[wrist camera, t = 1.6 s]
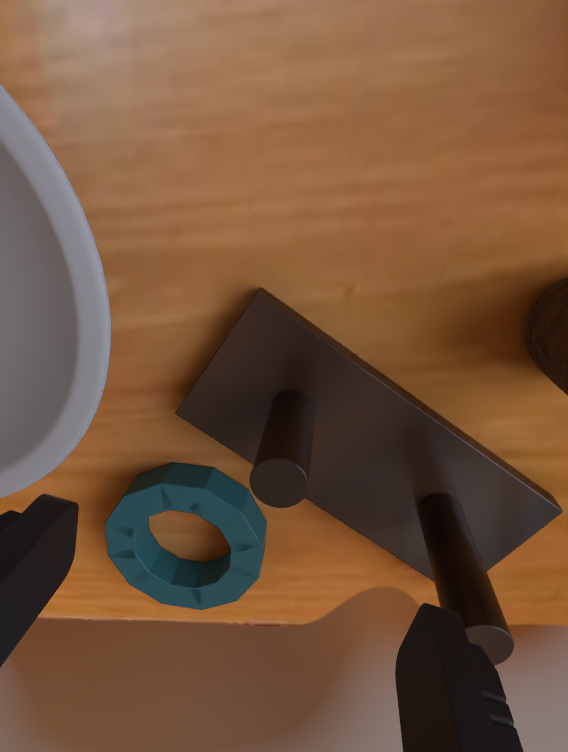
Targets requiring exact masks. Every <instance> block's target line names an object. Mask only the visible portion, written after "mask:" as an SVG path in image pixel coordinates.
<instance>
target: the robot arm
mask: <svg viewBox="0 0 568 752" xmlns="http://www.w3.org/2000/svg"><path fill="white" fill-rule="evenodd" d="M78 511H79V507H78V504H77V503H76V502H72V501H69V500H65V499H62V498H58V497H55V496H51V495H48V494H42V495H40V496H39V497H38V498H37V499H36V500H35V501H34V502H33V503H32V504H31V505H30V506H28V507H27V508H26V509H25V510H24V511H23V512H22V513H19V512H16V511H12V510H10V511H8V512H6V513H4V514H2V515H0V667H1V666H2V664H3V663H4V662H5V660H6V659H7V657H8V656H9V655H10V653H11V652H12V651H13V649H14V648H15V647H16V645H17V644H18V643H19V641H20V640H21V638H22V637H23V636H24V634H25V633H26V632H27V630H28V629H29V627H30V626H31V625H32V623H33V622H34V621H35V619H36V618H37V616H38V615H39V614H40V612H41V611H42V610H43V608H44V607H45V606H46V604H47V603H48V601H49V600H50V599H51V597H52V596H53V595H54V593H55V592H56V590H57V589H58V588H59V586H60V585H61V584H62V582H63V581H64V579H65V577H66V576H67V574H68V572H69V570H70V567H71V565H72V562H73V559H74V555H75V546H76V534H77V523H78ZM395 675H396V676H395V677H396V688H397V697H398V707H399V716H400V725H401V734H402V744H403V752H523V749H522V746H521V743H520V740H519V736H518V734H517V730H516V728H514V726H513V723H514V721H513V718H512V715H511V712H510V709H509V706H508V705H507V704H506V696H505V693H504V690H503V687H502V684H501V681H500V678H499V675H498V672H497V670H496V669H495V667H494V665H493V664H492V662H491V661H490V659H489V658H488V656H487V655H486V653H485V652H484V650H483V649H482V647H481V646H480V645H476V644H473V643H469V640H468V636H467V633H466V629H465V626H464V622H463V619H462V617H461V615H460V614H459V613H458V612H455V611H451V610H448V609H444V608H441V607H437V606H434V605H430V604H427V603H424V604H422V605H421V606H420V608H419V610H418V612H417V614H416V616H415V618H414V620H413V622H412V624H411V626H410V628H409V630H408V632H407V634H406V636H405V638H404V640H403V642H402V644H401V646H400V649H399V652H398V655H397V660H396V672H395Z"/></svg>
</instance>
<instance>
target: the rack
mask: <svg viewBox="0 0 568 752" xmlns="http://www.w3.org/2000/svg"><path fill="white" fill-rule="evenodd" d="M175 414H176V415H178V416H180V417H181V418H183V419H184V420H186V421H187V422H189V423H190V424H192V425H193V426H195V427H197V428H198V429H200V430H201V431H203V432H204V433H206V434H207V435H209V436H210V437H212V438H213V439H215V440H217V441H218V442H220V443H221V444H223V445H224V446H226V447H227V448H229V449H230V450H232V451H234V452H235V453H237V454H238V455H240V456H241V457H243V458H244V459H246V460H247V461H249V462H251V463H252V464H254V465H253V469H252V472H251V475H250V486H251V489H252V491H253V493H254V495H255V496H256V497H257V498H258V499H259V500H260V501H262V502H263V503H265V504H267V505H269V506H272V507H277V508H285V507H290V506H293V505H296V504H297V503H299V502H300V501H301V500H302V499H303V498H306V499H308V500H309V501H311V502H312V503H314V504H315V505H317V506H318V507H320V508H321V509H323V510H325V511H326V512H328V513H329V514H331V515H332V516H334V517H335V518H337V519H338V520H340V521H341V522H343V523H345V524H346V525H348V526H349V527H351V528H352V529H354V530H355V531H357V532H358V533H360V534H362V535H363V536H365V537H366V538H368V539H369V540H371V541H372V542H374V543H375V544H377V545H379V546H380V547H382V548H383V549H385V550H386V551H388V552H389V553H391V554H392V555H394V556H395V557H397V558H399V559H400V560H402V561H403V562H405V563H406V564H408V565H409V566H411V567H412V568H414V569H416V570H417V571H419V572H420V573H422V574H423V575H425V576H426V577H428V578H429V579H431V580H432V581H434V582H435V586H436V590H437V594H438V598H439V602H440V607H441V608H444V609H448V610H451V611H455V612H458V613H459V614H460V615H461V617H462V619H463V622H464V626H465V629H466V633H467V636H468V640H469V643H473V644H476V645H480V646H481V647H482V649H483V650H484V652H485V653H486V655H487V656H488V658H489V659H490V661H491V662H492V664H493V665H497V664H499V663H502V662H504V661H505V660H506V659H508V657H510V655H511V654H512V652H513V648H514V643H513V639H512V636H511V634H510V631H509V629H508V626H507V623H506V621H505V618H504V616H503V613H502V610H501V608H500V605H499V603H498V600H497V597H496V595H495V592H494V590H493V587H492V584H491V582H490V579H489V577H488V574H487V571H488V570H489V569H491V568H492V567H493V566H494V565H496V564H497V563H498V562H499V561H501V560H502V559H503V558H505V557H506V556H507V555H508V554H510V553H511V552H512V551H513V550H515V549H516V548H517V547H519V546H520V545H521V544H522V543H524V542H525V541H526V540H528V539H529V538H530V537H531V536H533V535H534V534H535V533H536V532H538V531H539V530H540V529H542V528H543V527H544V526H545V525H547V524H548V523H549V522H551V521H552V520H553V519H554V518H556V517H557V516H558V515H559V514H561V513H562V512H563V510H562V509H561V507H560V506H559V504H558V503H557V501H556V500H555V499H554V497H553V496H552V495H551V494H549V493H548V492H547V491H545V490H544V489H542V488H541V487H540V486H538V485H537V484H535V483H534V482H533V481H531V480H530V479H528V478H527V477H526V476H524V475H523V474H521V473H520V472H519V471H517V470H516V469H514V468H513V467H512V466H510V465H509V464H507V463H506V462H505V461H503V460H502V459H500V458H499V457H498V456H496V455H495V454H494V453H492V452H491V451H489V450H488V449H487V448H485V447H484V446H482V445H481V444H480V443H478V442H477V441H475V440H474V439H473V438H471V437H470V436H468V435H467V434H466V433H464V432H463V431H461V430H460V429H459V428H457V427H456V426H454V425H453V424H452V423H450V422H449V421H447V420H446V419H445V418H443V417H442V416H440V415H439V414H438V413H436V412H435V411H434V410H432V409H431V408H429V407H428V406H427V405H425V404H424V403H422V402H421V401H420V400H418V399H417V398H415V397H414V396H413V395H411V394H410V393H408V392H407V391H406V390H404V389H403V388H401V387H400V386H399V385H397V384H396V383H394V382H393V381H392V380H390V379H389V378H387V377H386V376H385V375H383V374H382V373H380V372H379V371H378V370H376V369H375V368H374V367H372V366H371V365H369V364H368V363H367V362H365V361H364V360H362V359H361V358H360V357H358V356H357V355H355V354H354V353H353V352H351V351H350V350H348V349H347V348H346V347H344V346H343V345H341V344H340V343H339V342H337V341H336V340H334V339H333V338H332V337H330V336H329V335H327V334H326V333H325V332H323V331H322V330H320V329H319V328H318V327H316V326H315V325H314V324H312V323H311V322H309V321H308V320H307V319H305V318H304V317H302V316H301V315H300V314H298V313H297V312H295V311H294V310H293V309H291V308H290V307H288V306H287V305H286V304H284V303H283V302H281V301H280V300H279V299H277V298H276V297H274V296H273V295H272V294H270V293H269V292H267V291H266V290H265V289H263V288H260V290H259V291H258V292H257V294H256V295H255V297H254V298H253V300H252V301H251V303H250V304H249V305H248V307H247V308H246V310H245V311H244V313H243V314H242V316H241V317H240V319H239V320H238V321H237V323H236V324H235V326H234V327H233V329H232V330H231V332H230V333H229V335H228V336H227V338H226V339H225V340H224V342H223V343H222V345H221V346H220V348H219V349H218V351H217V352H216V354H215V355H214V357H213V358H212V359H211V361H210V362H209V364H208V365H207V367H206V368H205V370H204V371H203V373H202V374H201V376H200V377H199V378H198V380H197V381H196V383H195V384H194V386H193V387H192V389H191V390H190V392H189V393H188V394H187V396H186V397H185V399H184V400H183V402H182V403H181V405H180V406H179V408H178V409H177V411H176V412H175Z"/></svg>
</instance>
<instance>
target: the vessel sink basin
mask: <svg viewBox="0 0 568 752" xmlns="http://www.w3.org/2000/svg"><path fill="white" fill-rule="evenodd" d="M110 348H111V316H110V308H109V299H108V291H107V286H106V281H105V276H104V272H103V267H102V262H101V259H100V256H99V253H98V249H97V246H96V243H95V240H94V236H93V233H92V231H91V228H90V226H89V223H88V221H87V218H86V216H85V213H84V211H83V208H82V206H81V204H80V202H79V200H78V197H77V195H76V193H75V191H74V189H73V187H72V185H71V183H70V181H69V179H68V177H67V175H66V174H65V172H64V170H63V169H62V167H61V165H60V164H59V162H58V160H57V159H56V157H55V155H54V154H53V152H52V150H51V149H50V147H49V145H48V144H47V143H46V141H45V140H44V138H43V137H42V135H41V134H40V133H39V131H38V130H37V128H36V127H35V126H34V124H33V123H32V121H31V120H30V118H29V117H28V116H27V115H26V113H25V112H24V111H23V110H22V109H21V107H20V106H19V105H18V104H17V103H16V101H15V100H14V99H13V98H12V97H11V95H10V94H9V93H8V92H7V91H6V89H5V88H4V87H3V86H2V85H1V84H0V498H1V497H4V496H8V495H10V494H12V493H15V492H17V491H20V490H22V489H24V488H26V487H28V486H30V485H31V484H33V483H35V482H37V481H39V480H40V479H42V478H43V477H45V476H46V475H47V474H49V473H50V472H51V471H53V470H54V469H55V468H57V467H58V466H59V465H60V464H61V463H62V462H63V461H64V460H65V459H66V458H67V457H68V456H69V455H70V453H71V452H72V451H73V450H74V449H75V447H76V446H77V445H78V444H79V442H80V441H81V439H82V438H83V436H84V434H85V433H86V431H87V429H88V428H89V426H90V424H91V422H92V420H93V417H94V415H95V413H96V411H97V409H98V406H99V403H100V400H101V397H102V394H103V391H104V387H105V383H106V378H107V373H108V368H109V360H110Z"/></svg>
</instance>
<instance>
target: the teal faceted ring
mask: <svg viewBox="0 0 568 752" xmlns="http://www.w3.org/2000/svg"><path fill="white" fill-rule="evenodd" d="M167 510H175V511H182V512H189V513H195V514H197V515H199V516H200V517H202V518H203V519H205V520H207V521H208V522H210V523H212V524H213V525H215V526H216V527H218V528H219V529H220V531H221V532H222V534H223V536H224V537H225V539H226V540H227V542H228V544H229V545H230V547H231V550H230V551H229V552H228V553H227V554H226V555H225V556H224V557H221V558H218V559H215V560H211V561H208V562H204V563H202V562H195V561H189V560H182V559H180V558H178V557H176V556H175V555H173V554H171V553H170V552H168V551H166V550H165V549H163V548H161V547H160V545H159V544H158V542H157V541H156V539H155V538H154V536H153V535H152V534H151V532H150V531H149V518H148V517H149V516H152V515H155V514H158V513H161V512H164V511H167ZM266 525H267V521H266V519H265V517H264V516H263V514H262V512H261V511H260V509H259V507H258V505H257V504H256V502H255V500H254V498H253V497H252V495H251V493H250V491H249V490H248V489H247V488H245V487H244V486H242V485H241V484H239V483H237V482H236V481H234V480H233V479H231V478H230V477H228V476H226V475H225V474H223V473H222V472H220V471H219V470H217V469H215V468H212V467H204V466H197V465H190V464H182V463H175V462H172V463H169V464H167V465H164V466H161V467H158V468H156V469H153V470H150V471H147V472H145V473H142V474H139V475H138V476H137V477H136V479H135V480H134V481H133V483H132V484H131V486H130V487H129V489H128V490H127V492H126V493H125V494H124V496H123V497H122V499H121V500H120V502H119V503H118V505H117V506H116V508H115V509H114V511H113V512H112V513H111V515H110V516H109V518H108V519H107V521H106V522H105V527H106V539H107V551H108V556H109V557H110V559H111V560H112V561H113V563H114V564H115V565H116V567H117V568H118V570H119V571H120V572H121V574H122V575H123V576H124V578H125V579H126V580H127V582H128V583H129V584H130V585H131V586H133V587H135V588H136V589H138V590H140V591H141V592H143V593H145V594H147V595H148V596H150V597H152V598H154V599H155V600H157V601H159V602H161V603H162V604H167V605H173V606H179V607H186V608H192V609H199V610H204V609H208V608H212V607H216V606H219V605H223V604H227V603H231V602H235V601H237V600H238V599H239V598H240V597H241V596H242V595H243V594H244V593H245V592H246V591H247V590H248V589H249V588H250V587H251V586H252V585H253V583H254V582H255V581H256V580H257V579H258V578H259V575H260V570H261V565H262V560H263V555H264V547H265V536H266Z"/></svg>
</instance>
